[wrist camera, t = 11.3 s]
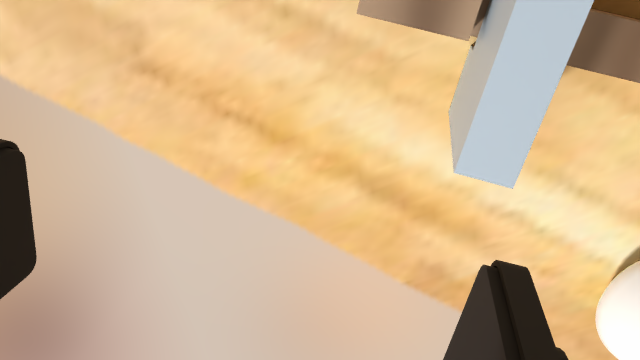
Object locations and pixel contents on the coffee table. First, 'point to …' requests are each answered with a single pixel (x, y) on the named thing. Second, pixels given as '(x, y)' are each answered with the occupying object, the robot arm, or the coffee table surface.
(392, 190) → the coffee table surface
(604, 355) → the coffee table surface
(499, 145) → the blue grey notched plate
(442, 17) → the brown notched bar
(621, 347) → the flower in vase
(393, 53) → the coffee table surface
